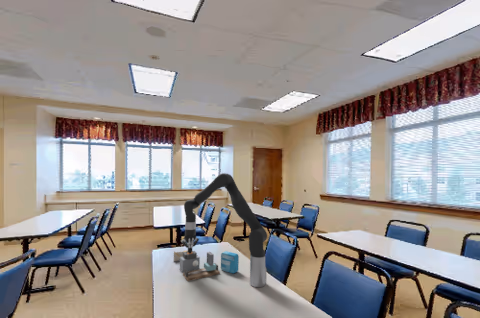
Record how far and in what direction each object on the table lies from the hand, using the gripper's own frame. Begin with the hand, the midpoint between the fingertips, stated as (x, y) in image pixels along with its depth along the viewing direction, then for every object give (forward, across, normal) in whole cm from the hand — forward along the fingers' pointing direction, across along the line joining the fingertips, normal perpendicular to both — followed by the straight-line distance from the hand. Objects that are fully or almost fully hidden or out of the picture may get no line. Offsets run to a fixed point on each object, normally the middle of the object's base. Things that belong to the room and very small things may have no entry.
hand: (189, 252), depth 164 cm
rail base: (+11, -4, +12) cm, 17 cm away
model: (+12, +1, -17) cm, 21 cm away
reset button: (+2, 0, 0) cm, 2 cm away
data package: (+11, -23, +16) cm, 30 cm away
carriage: (+8, -10, +12) cm, 18 cm away
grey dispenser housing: (+11, 0, 0) cm, 11 cm away
